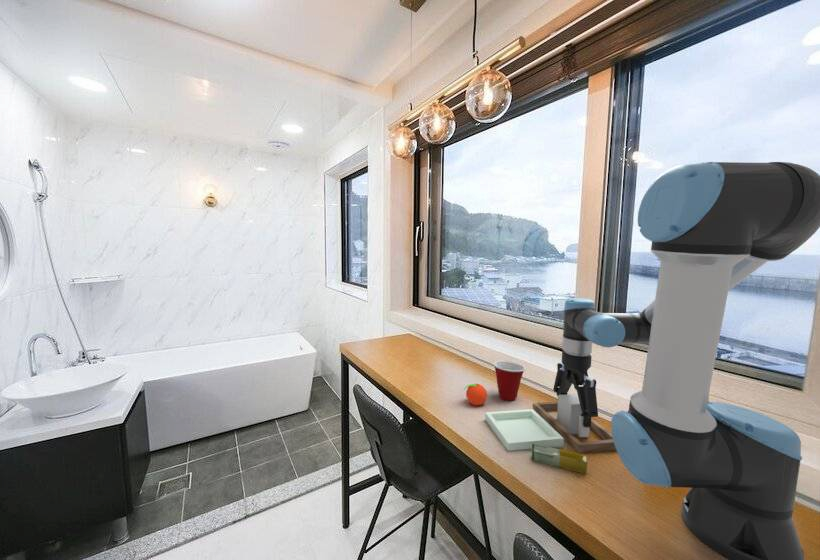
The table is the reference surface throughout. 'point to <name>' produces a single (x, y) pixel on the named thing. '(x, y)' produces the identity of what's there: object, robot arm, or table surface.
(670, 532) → the table surface
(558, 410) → the stone block
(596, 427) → the brown wooden frame
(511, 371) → the plastic cup
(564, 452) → the medication box
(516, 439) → the tray
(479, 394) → the clementine
